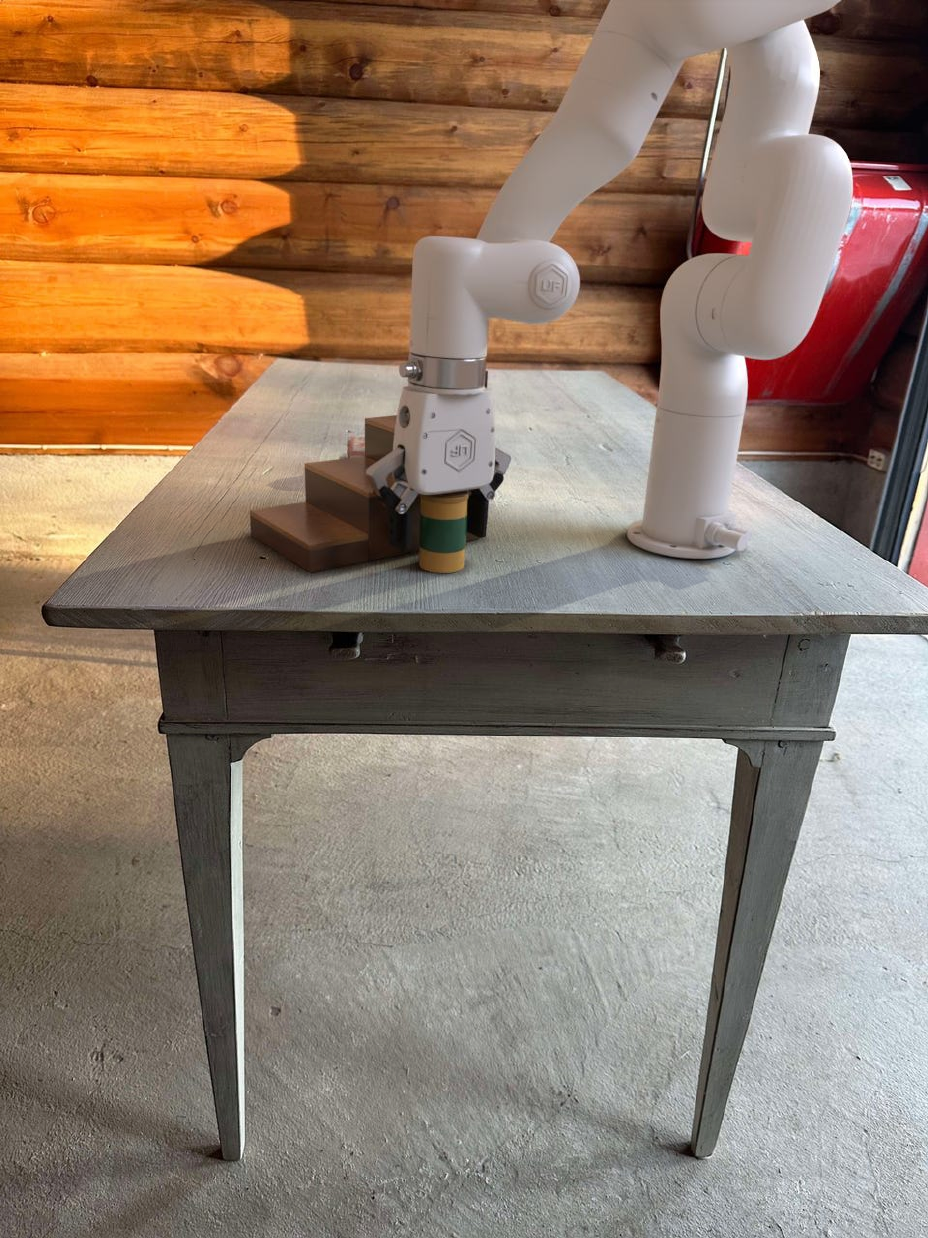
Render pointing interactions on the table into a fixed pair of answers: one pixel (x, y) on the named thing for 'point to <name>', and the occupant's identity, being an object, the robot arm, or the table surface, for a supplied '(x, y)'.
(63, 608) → the table surface
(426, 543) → the tin
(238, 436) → the table surface
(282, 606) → the table surface
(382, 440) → the step shelf
